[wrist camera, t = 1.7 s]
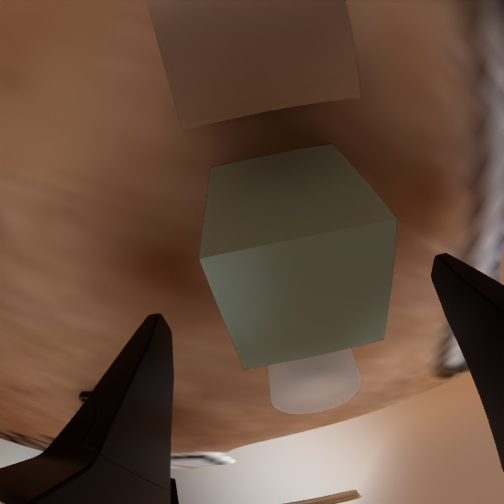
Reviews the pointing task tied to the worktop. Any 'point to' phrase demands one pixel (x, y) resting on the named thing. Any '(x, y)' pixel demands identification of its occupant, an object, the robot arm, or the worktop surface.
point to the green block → (297, 255)
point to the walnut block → (253, 55)
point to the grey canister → (314, 382)
